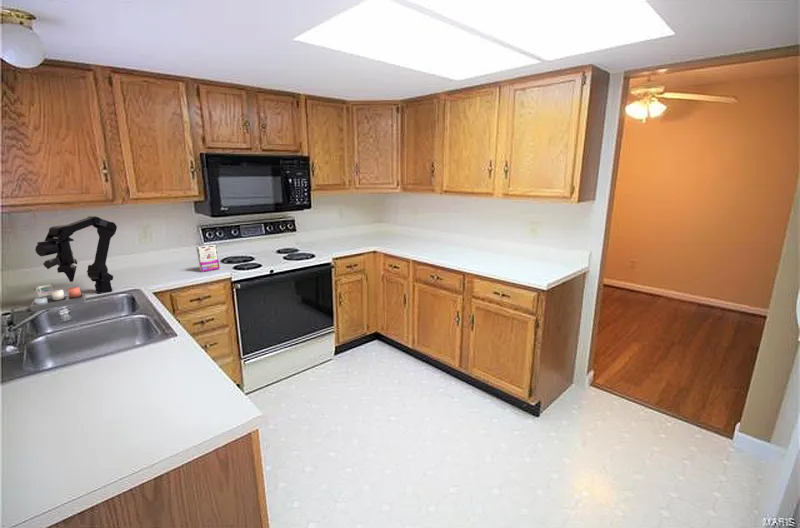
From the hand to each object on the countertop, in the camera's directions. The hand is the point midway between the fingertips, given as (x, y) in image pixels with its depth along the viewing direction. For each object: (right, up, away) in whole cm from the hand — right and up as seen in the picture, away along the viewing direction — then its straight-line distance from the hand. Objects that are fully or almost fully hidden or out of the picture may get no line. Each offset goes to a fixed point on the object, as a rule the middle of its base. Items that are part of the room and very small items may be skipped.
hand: (71, 281), depth 190 cm
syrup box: (-21, -7, +6) cm, 23 cm away
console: (-5, -11, -1) cm, 12 cm away
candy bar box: (+40, +5, +59) cm, 71 cm away
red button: (0, -7, +2) cm, 8 cm away
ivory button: (-5, -9, -2) cm, 10 cm away
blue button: (-10, -12, -5) cm, 16 cm away
